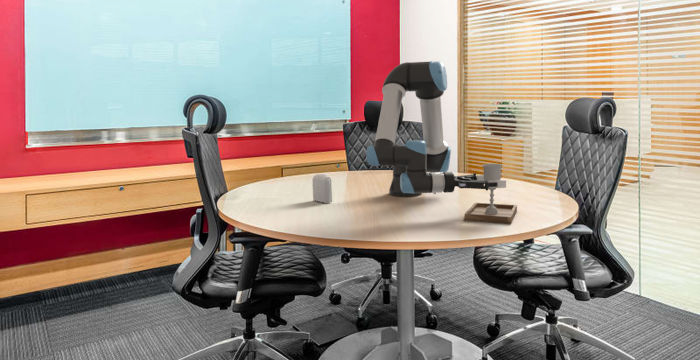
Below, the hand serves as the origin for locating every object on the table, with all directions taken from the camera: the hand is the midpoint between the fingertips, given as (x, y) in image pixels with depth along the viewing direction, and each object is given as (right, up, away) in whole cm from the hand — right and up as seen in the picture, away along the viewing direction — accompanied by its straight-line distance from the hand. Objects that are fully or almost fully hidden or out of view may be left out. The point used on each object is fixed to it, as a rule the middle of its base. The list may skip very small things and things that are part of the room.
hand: (499, 181), depth 187 cm
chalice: (-2, -12, +2) cm, 13 cm away
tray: (-2, -13, +2) cm, 13 cm away
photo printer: (-67, -9, +35) cm, 77 cm away
